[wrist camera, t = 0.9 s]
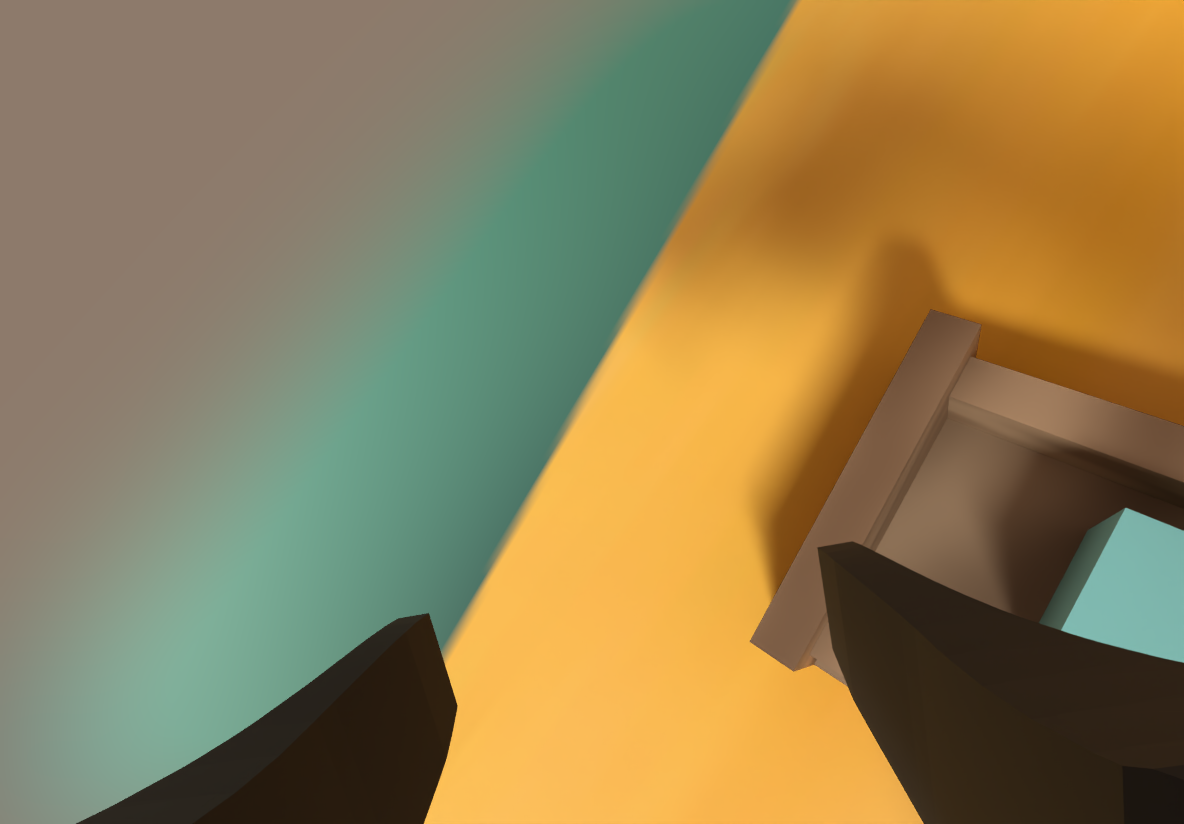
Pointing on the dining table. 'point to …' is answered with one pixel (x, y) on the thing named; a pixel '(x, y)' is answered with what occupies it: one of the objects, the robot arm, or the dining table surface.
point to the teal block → (1125, 587)
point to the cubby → (977, 486)
